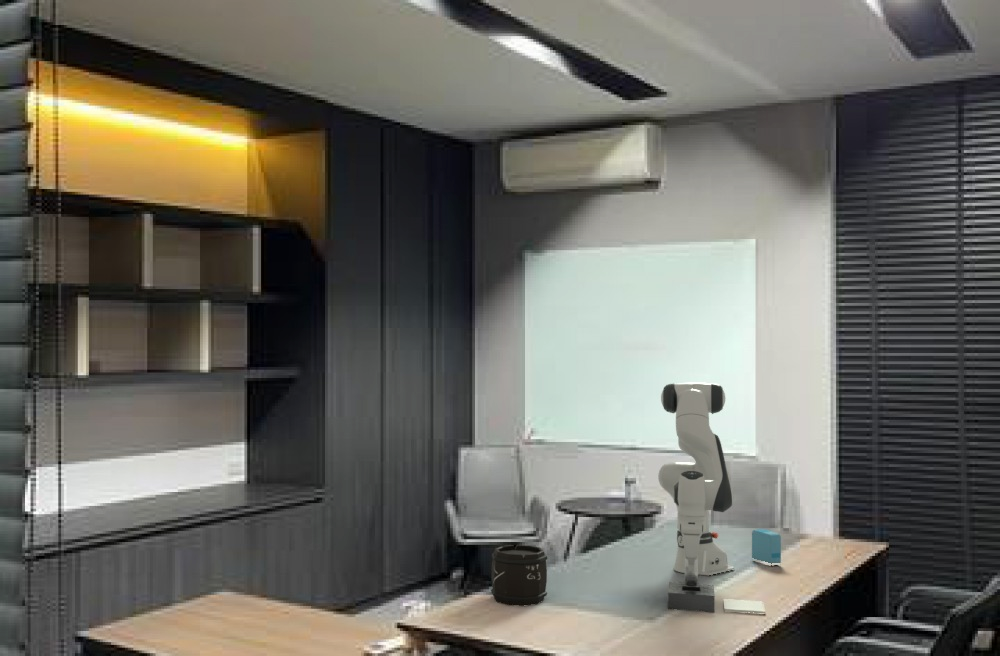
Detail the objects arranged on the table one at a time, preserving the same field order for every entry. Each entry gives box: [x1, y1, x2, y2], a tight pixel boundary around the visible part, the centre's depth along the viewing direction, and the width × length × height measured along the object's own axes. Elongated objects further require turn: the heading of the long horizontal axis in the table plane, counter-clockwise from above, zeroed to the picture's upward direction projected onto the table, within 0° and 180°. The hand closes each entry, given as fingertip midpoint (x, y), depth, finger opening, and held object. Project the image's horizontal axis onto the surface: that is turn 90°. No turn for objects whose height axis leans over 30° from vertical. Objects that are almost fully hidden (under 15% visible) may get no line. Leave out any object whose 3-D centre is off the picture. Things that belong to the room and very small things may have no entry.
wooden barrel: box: [490, 544, 548, 607], centre depth 295 cm, size 18×18×16 cm
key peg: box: [684, 557, 699, 586], centre depth 291 cm, size 4×4×10 cm
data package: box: [751, 528, 782, 564], centre depth 352 cm, size 12×4×12 cm, turn 20°
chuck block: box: [667, 581, 716, 613], centre depth 291 cm, size 14×14×5 cm
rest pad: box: [723, 598, 766, 614], centre depth 288 cm, size 12×12×1 cm
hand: (691, 568), depth 291 cm, fingers closed on key peg, 4 cm apart
